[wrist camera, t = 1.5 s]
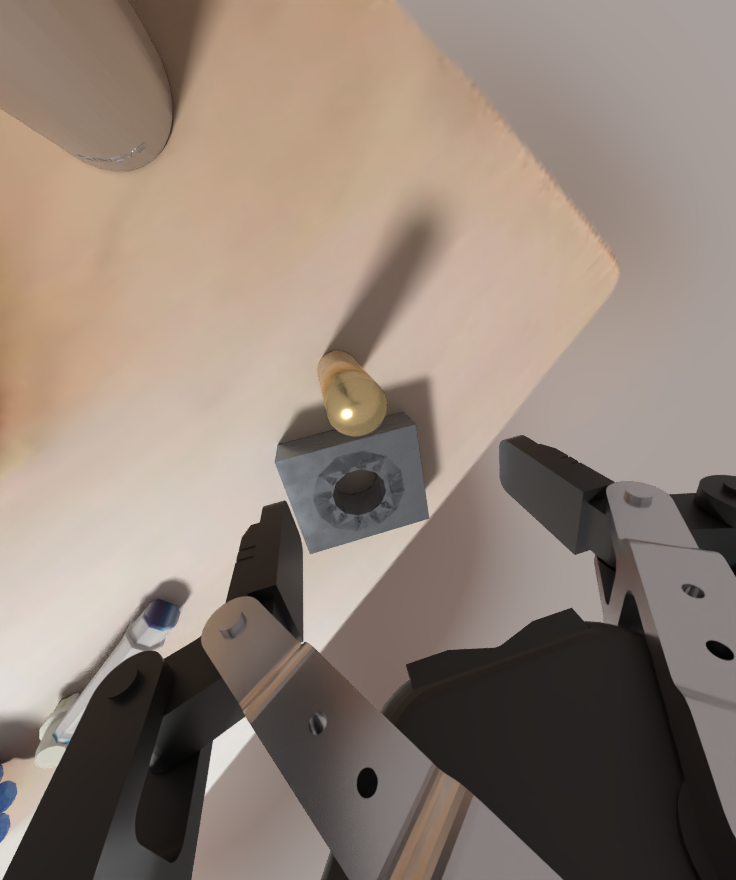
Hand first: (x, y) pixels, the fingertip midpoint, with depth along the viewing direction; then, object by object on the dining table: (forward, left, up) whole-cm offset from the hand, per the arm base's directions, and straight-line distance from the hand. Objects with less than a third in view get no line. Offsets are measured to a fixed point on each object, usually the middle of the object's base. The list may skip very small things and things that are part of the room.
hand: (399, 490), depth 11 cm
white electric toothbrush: (+30, -37, -22) cm, 52 cm away
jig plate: (+12, -1, -22) cm, 25 cm away
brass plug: (0, 0, -22) cm, 22 cm away
